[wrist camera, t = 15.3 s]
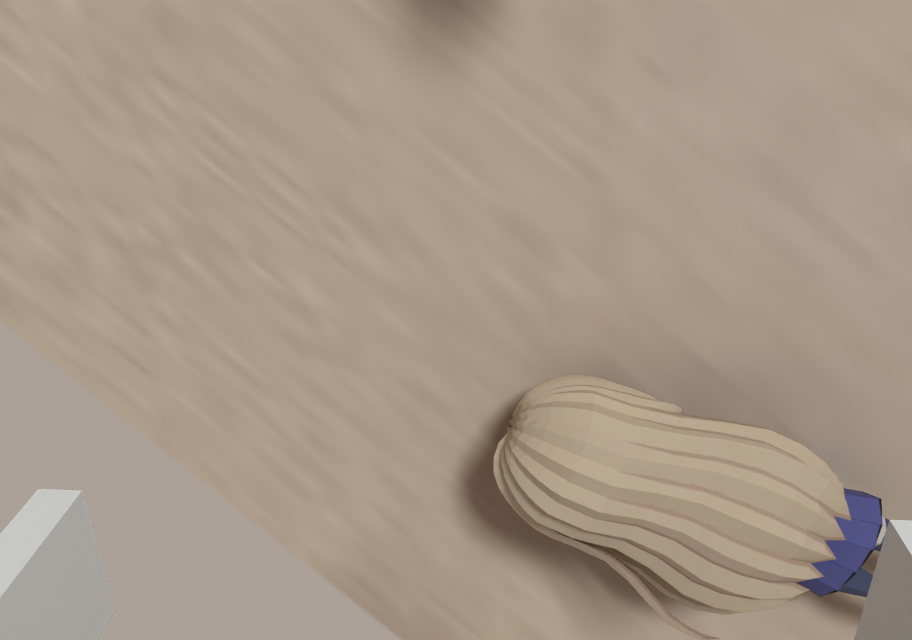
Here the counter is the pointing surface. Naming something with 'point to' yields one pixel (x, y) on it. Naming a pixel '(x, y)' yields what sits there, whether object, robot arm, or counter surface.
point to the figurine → (684, 499)
